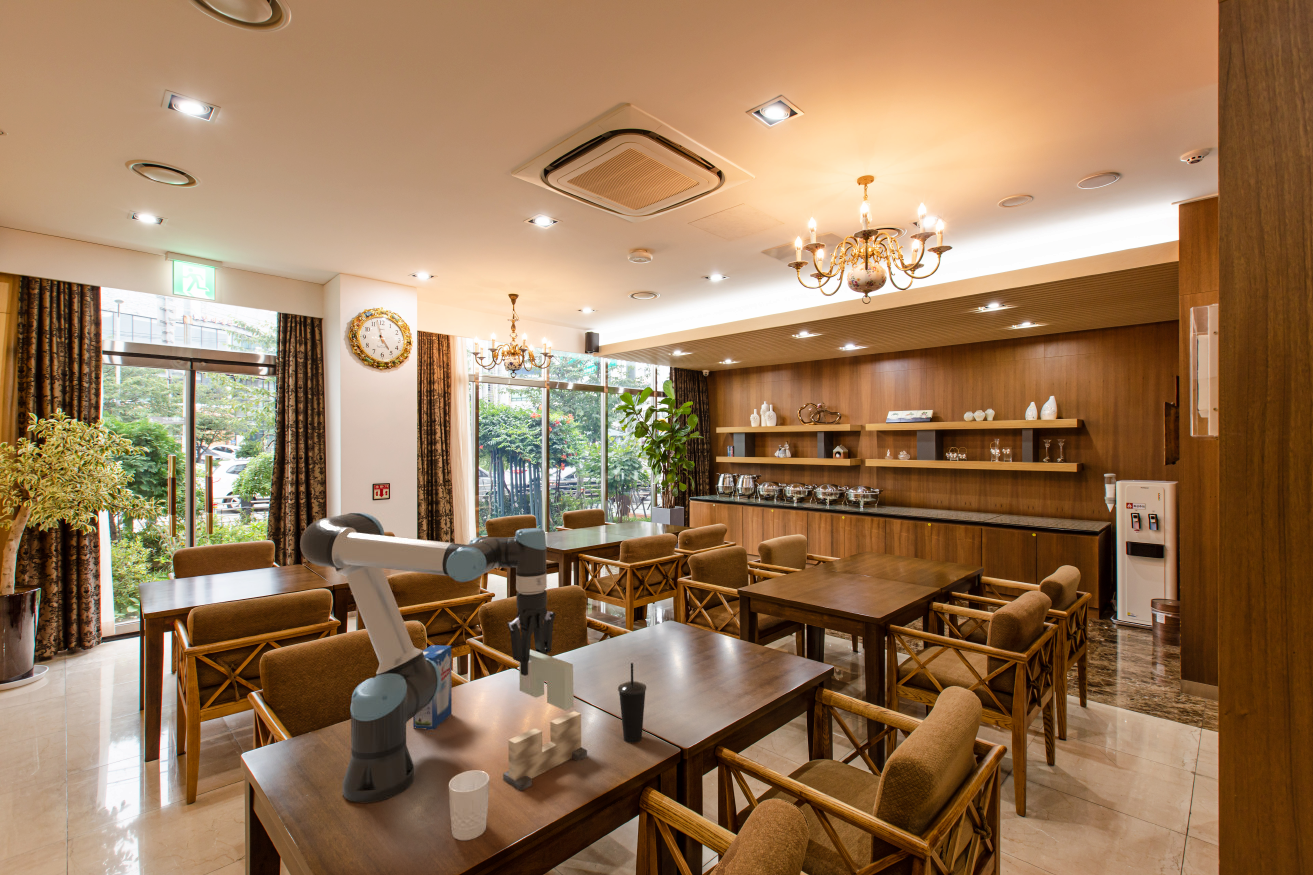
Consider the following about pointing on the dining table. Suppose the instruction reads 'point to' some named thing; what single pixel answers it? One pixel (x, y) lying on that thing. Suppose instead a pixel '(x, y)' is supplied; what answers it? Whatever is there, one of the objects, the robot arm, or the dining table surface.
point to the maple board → (544, 750)
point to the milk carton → (443, 699)
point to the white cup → (469, 804)
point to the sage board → (550, 680)
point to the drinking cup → (632, 708)
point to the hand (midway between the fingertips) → (533, 684)
